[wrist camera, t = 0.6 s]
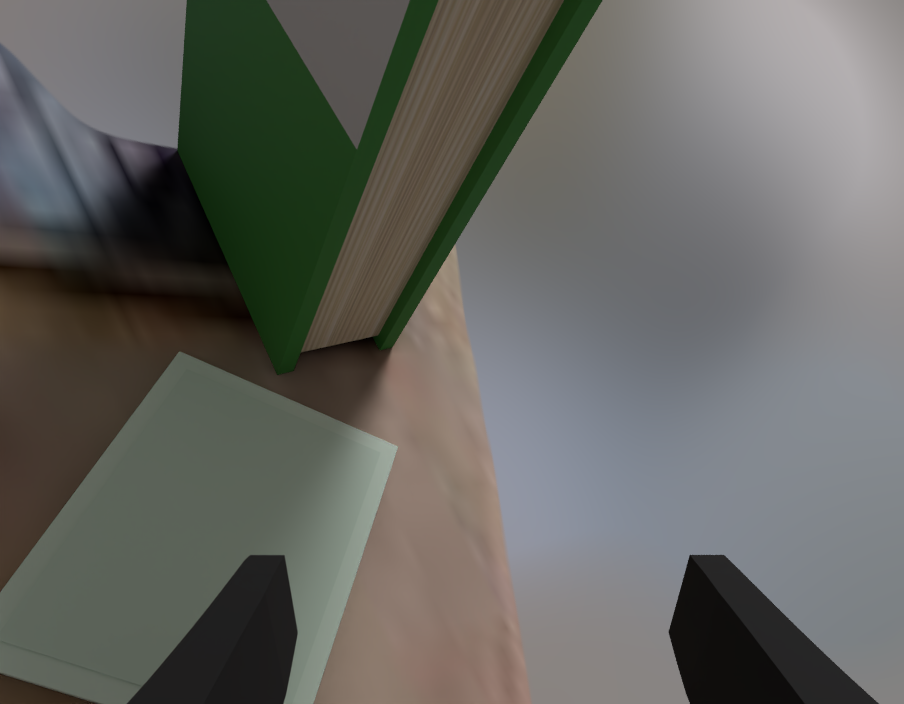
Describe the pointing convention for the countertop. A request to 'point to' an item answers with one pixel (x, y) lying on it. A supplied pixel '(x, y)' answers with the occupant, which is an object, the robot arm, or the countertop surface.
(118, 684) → the tray
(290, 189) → the hardback book
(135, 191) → the countertop surface
